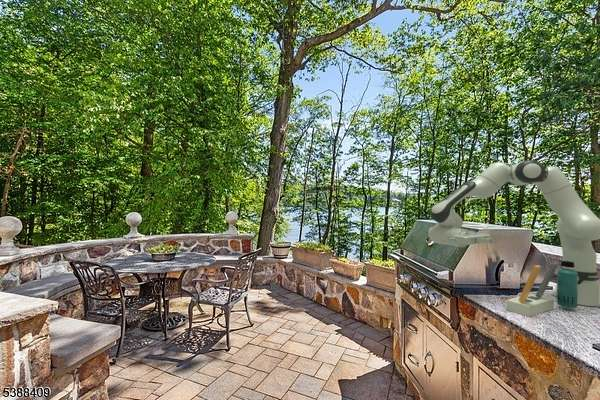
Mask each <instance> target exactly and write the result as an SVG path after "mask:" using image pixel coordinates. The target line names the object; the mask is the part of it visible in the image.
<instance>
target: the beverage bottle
mask: <svg viewBox="0 0 600 400" xmlns="http://www.w3.org/2000/svg"><path fill="white" fill-rule="evenodd" d="M560 262H561V263H560V266H561V268H562V267H563V266H564V267H572V268H573V267H575V266H574V262H570V261H563V260H562V261H560ZM561 268H560V269H558V270H557V278H556V287H557V297H556V303H557V305H558V306H560V307H565V308H567V309H576V308H578V304H577V303H578V302H577V297H578V296H577V295H578V294H577V279H578V273H577V272H576V271H574V270H571V269H564V268H562V269H561Z"/></svg>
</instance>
